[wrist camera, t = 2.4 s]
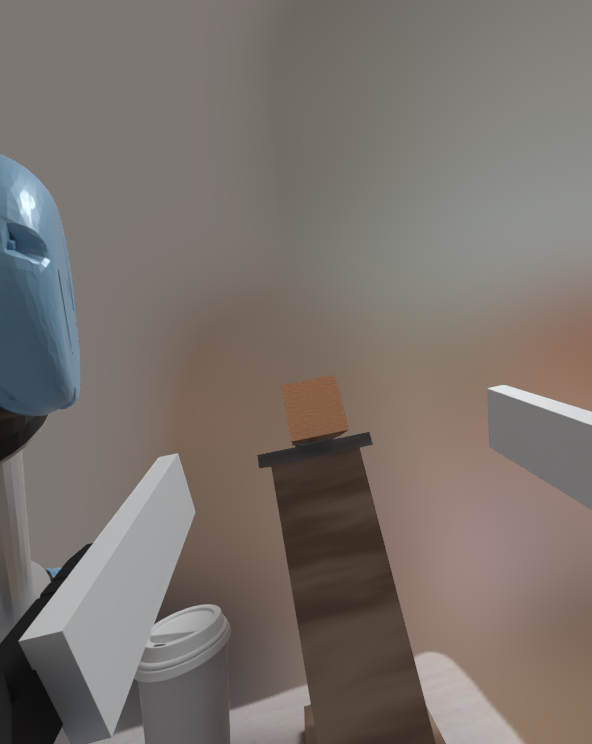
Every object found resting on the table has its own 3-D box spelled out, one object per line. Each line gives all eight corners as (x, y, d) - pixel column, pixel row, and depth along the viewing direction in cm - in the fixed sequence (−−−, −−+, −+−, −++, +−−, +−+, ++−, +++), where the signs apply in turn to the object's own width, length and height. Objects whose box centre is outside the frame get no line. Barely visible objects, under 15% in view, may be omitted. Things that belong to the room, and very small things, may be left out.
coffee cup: (115, 853, 25) (113, 643, 30) (207, 752, 33) (195, 597, 37) (177, 930, 20) (163, 662, 24) (269, 789, 28) (246, 604, 32)
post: (516, 898, 18) (381, 428, 27) (316, 958, 18) (245, 457, 27) (417, 700, 34) (351, 441, 42) (308, 728, 33) (264, 459, 42)
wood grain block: (348, 429, 20) (334, 374, 21) (291, 441, 20) (280, 385, 21) (322, 447, 42) (316, 419, 43) (295, 452, 42) (289, 425, 43)
